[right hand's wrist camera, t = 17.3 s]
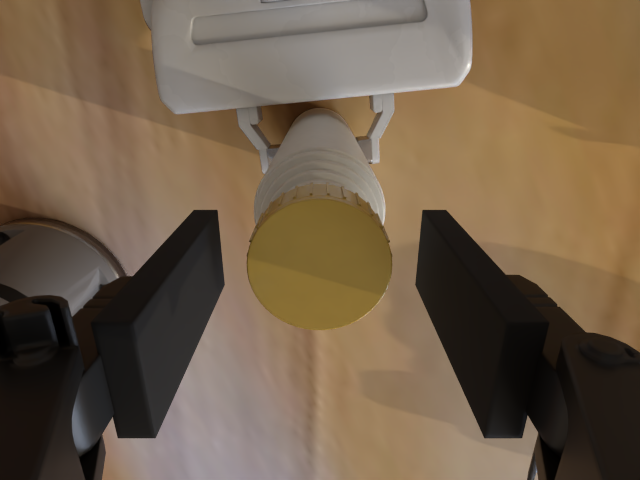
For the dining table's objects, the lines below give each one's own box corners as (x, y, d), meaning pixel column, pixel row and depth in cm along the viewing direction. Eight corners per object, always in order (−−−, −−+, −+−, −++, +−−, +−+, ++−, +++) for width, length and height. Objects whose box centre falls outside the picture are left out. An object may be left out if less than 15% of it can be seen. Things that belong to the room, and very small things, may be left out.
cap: (404, 273, 15) (415, 299, 13) (290, 320, 15) (287, 351, 14) (353, 158, 13) (357, 170, 11) (229, 216, 14) (217, 236, 12)
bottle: (303, 181, 37) (276, 357, 14) (277, 123, 35) (198, 216, 12) (360, 158, 36) (430, 303, 13) (337, 97, 35) (372, 144, 12)
